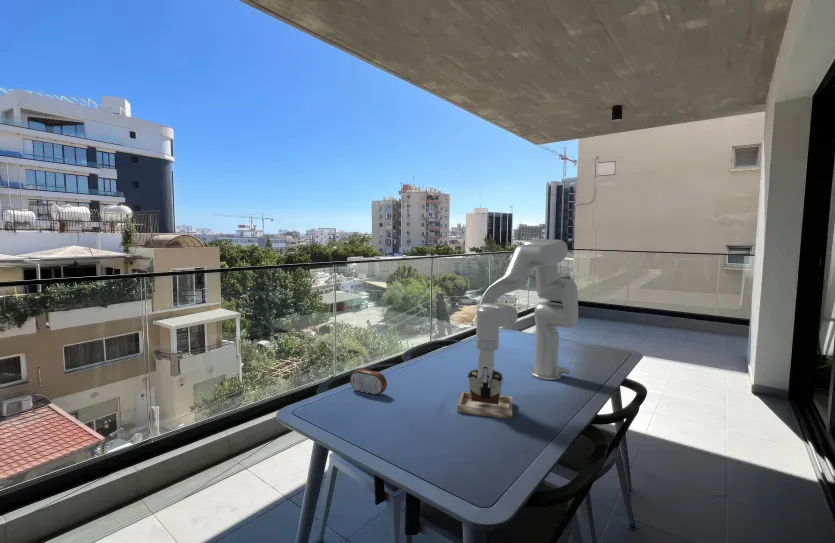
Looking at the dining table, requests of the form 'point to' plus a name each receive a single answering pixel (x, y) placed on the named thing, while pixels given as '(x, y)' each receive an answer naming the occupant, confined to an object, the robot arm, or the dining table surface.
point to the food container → (476, 387)
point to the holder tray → (485, 406)
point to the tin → (368, 381)
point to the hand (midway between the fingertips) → (485, 394)
